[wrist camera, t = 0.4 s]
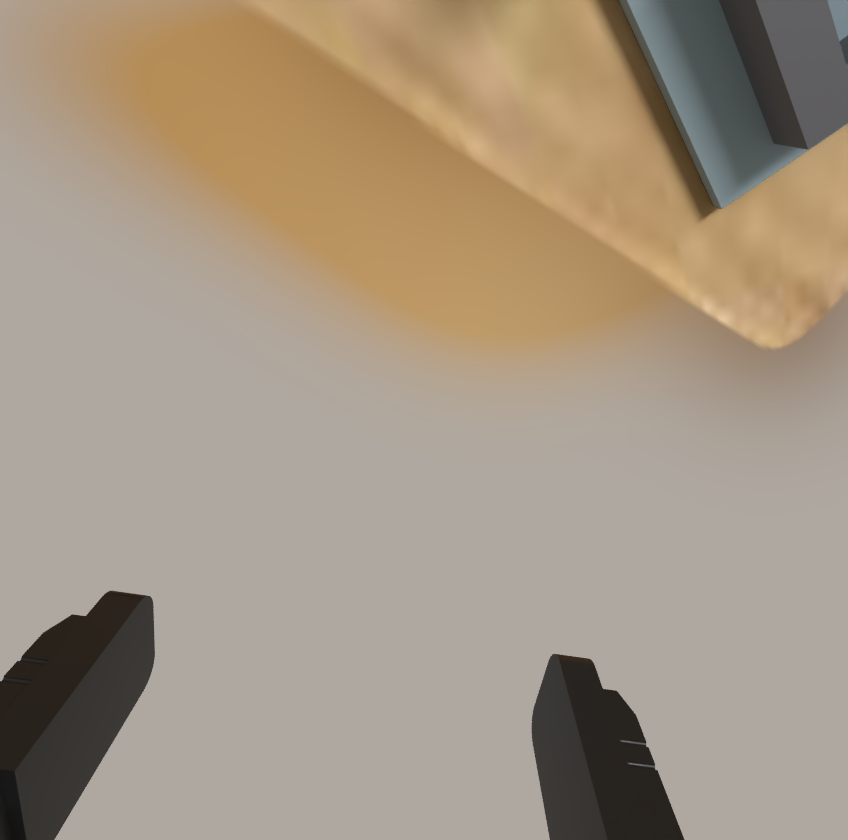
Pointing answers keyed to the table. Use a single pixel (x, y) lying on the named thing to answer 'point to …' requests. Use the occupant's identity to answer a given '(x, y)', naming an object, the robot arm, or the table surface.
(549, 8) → the table surface
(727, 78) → the dock
